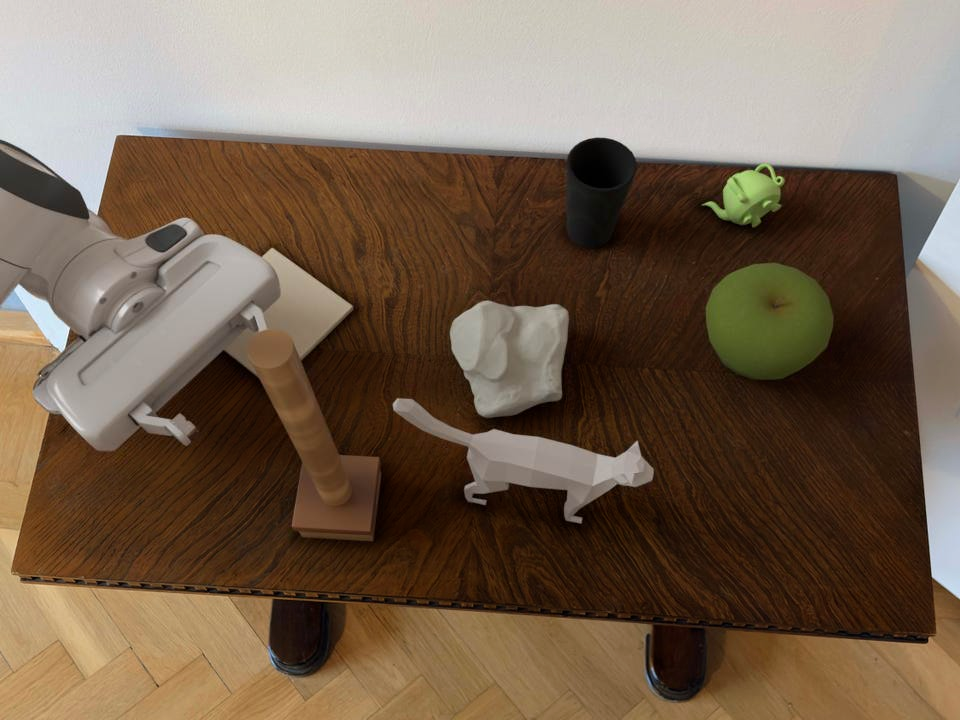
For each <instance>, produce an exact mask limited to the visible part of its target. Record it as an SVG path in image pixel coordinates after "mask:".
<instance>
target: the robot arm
mask: <svg viewBox="0 0 960 720" xmlns="http://www.w3.org/2000/svg"><path fill="white" fill-rule="evenodd" d="M18 285H19V286H20V287H21V288H22V289H24V290H25V291H26V292H27V293H28V294H29V295H31V296H32V297H35V298H37V299H38V300H41V301H43V302H46V303H47V304H48V306H49V307H50V309H51V311H52V312H53V314H54V315H55V316H56V317H57V318H58V319H59V320H60V321H61V322H62V323H63V324H65V325H66V326H67V327H68V328H69V329H71V330H72V332H74V333H75V334H76V335H78V337H77V338H76V339H74V341H72V342H71V343H70V344H69V345H67V346H66V347H65V348H64V349H63V350H62V352H61V353H59V354H58V355H57V356H56V357H55V359H53V360H52V361H51V362H48V363H47V364H45V365H44V366H43V367H42V368H41V369H40V370H39V371H38V372H37V374H36V376H38V378H37V379H36V381H35V382H34V384H33V387H32V392H31V393H32V396H33V397H32V398H33V399H34V401H35V402H36V403H37V404H38V405H39V406H40V407H42V408H43V410H44V411H46V412H47V413H49V414H51V415H58V416H63V418H64V419H65V420H66V421H67V423H68V424H69V425H71V427H72V428H73V429H74V430H75V431H76V432H77V433H78V434H79V435H80V436H81V437H82V438H83V439H84V440H85V441H86V442H87V443H88V444H89V445H90V446H91V447H92V448H93V449H95V450H96V451H98V452H115V451H116V450H117V449H118V448H120V447H121V446H122V445H123V444H124V443H126V441H127V440H128V439H130V437H131V436H132V435H134V434H135V433H136V432H137V431H138V430H139V429H140V428H142V429H143V430H144V431H146V433H148V434H153V435H160V436H170V437H172V436H173V437H174V438H175V439H177V440H178V441H179V442H180V443H181V444H183V445H184V446H185V447H188V445H190V444H191V443H192V442H193V441H194V440H195V439H196V438H197V437H198V436H200V434H201V432H200V430H199V429H198V428H197V426H195V424H193V423H192V422H191V421H190V420H188V419H187V418H186V416H184V415H183V414H182V413H180V412H179V413H178V414H176V416H174V417H173V418H172V419H170V418H164V417H159V416H158V414H156V413H158V411H159V410H160V409H161V408H163V407H164V406H165V405H166V404H167V403H168V402H169V401H170V400H172V399H173V398H174V397H175V396H176V394H178V393H179V392H180V391H181V390H182V389H184V387H186V385H187V384H189V383H190V382H191V381H192V380H193V379H194V378H195V377H196V376H197V375H198V374H200V373H201V371H202V370H204V369H205V368H206V367H207V366H208V365H209V364H210V363H212V361H213V360H215V358H217V357H218V356H219V355H220V354H221V353H222V352H224V349H225V348H226V347H227V346H228V345H229V344H230V343H232V342H233V341H234V340H235V339H236V338H237V337H238V336H239V335H240V334H241V333H242V332H243V331H244V330H246V329H247V328H249V329H251V330H252V331H253V332H257V331H258V330H259V331H260V332H261V331H263V330H267V329H269V327H268V324H267V321H266V319H265V317H264V314H263V313H264V312H265V311H266V310H267V309H268V308H269V307H270V306H271V305H272V304H274V303H275V302H276V301H277V300H278V299H279V298H280V296H281V286H280V281H279V278H278V276H277V273H276V271H275V269H274V268H273V267H272V265H271V264H270V263H269V262H267V261H266V260H265V259H263V258H262V256H261V255H260V254H257V253H256V252H254V251H253V250H251V249H249V248H248V247H246V246H245V245H243V244H241V243H239V242H237V241H235V240H234V239H232V238H230V237H227V236H225V235H221V234H215V233H213V234H210V233H209V234H205V233H204V231H203V230H202V228H201V227H200V226H199V225H198V223H197V222H195V221H194V220H193V219H191V218H189V217H181V218H178V219H176V220H174V221H171V222H169V223H167V224H165V225H163V226H160V227H158V228H156V229H154V230H152V231H149V232H147V233H144V234H141V235H138V236H136V237H133V238H130V239H127V238H125V237H122V236H119V235H117V234H115V233H114V232H113V231H112V230H111V227H110V226H109V225H108V224H107V222H106V221H105V220H104V219H103V218H101V217H100V216H99V215H98V214H96V213H95V212H94V211H92V210H91V209H89V208H88V206H87V204H86V201H85V198H84V197H83V195H82V193H81V191H80V190H79V189H78V188H76V187H75V186H73V185H72V184H71V183H70V182H68V181H67V180H65V179H64V178H63V177H61V176H60V175H59V174H58V173H56V171H54V170H53V169H52V168H51V167H49V166H48V165H47V164H45V163H44V162H42V161H41V160H39V158H37V157H35V156H34V155H32V153H29V152H28V151H26V150H25V149H23V148H21V147H19V146H17V145H15V144H13V143H10V142H8V141H6V140H3V139H0V309H1V308H2V307H3V305H4V304H5V303H6V301H7V300H8V298H9V297H10V296H11V295H12V293H13V292H14V291H15V290H16V289H17V287H18Z"/></svg>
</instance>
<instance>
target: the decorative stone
mask: <svg viewBox="0 0 960 720" xmlns="http://www.w3.org/2000/svg"><path fill="white" fill-rule="evenodd" d="M569 316H570V315H569V311H568V310H567V309H566V308H565V307H564V306H562V305H560V304H557V303H551V304H547V305H544V306H528V305H517V306H510V305H506V304H501V303H497V302H495V301H492V300H483V301H481V302H478V303H477V304H475V305H474V306H472V307H471V308H470V309H467V310H466V311H464V312H462V313H461V314H460V315H458V316H457V317H455V318H454V320H453V321H452V323H451V327H450V330H449V336H450V344H451V352H452V354H453V355H454V357H455V359H456V361H457V362H458V365H459V366H460V368H461V369H462V370H463V375H464V377H465V379H466V380H468V382H469V385H470V388H471V392H472V394H473V396H474V398H473V402H474V408H475V411H476V412H477V414H478V415H480V416H482V417H483V418H486V419H491V418H499V417H511V416H516V415H518V414H520V413H522V412H524V411H525V410H528V409H530V408H532V407H536V406H537V405H540V404H544V403H548V402H559V401H560V400H561V399H562V397H563V389H562V388H563V387H562V386H563V385H562V371H563V365H564V360H565V354H566V349H567V344H568V337H569V336H568V335H569V334H568V333H569V321H570V319H569V318H570V317H569Z"/></svg>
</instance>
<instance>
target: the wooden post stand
mask: <svg viewBox="0 0 960 720" xmlns="http://www.w3.org/2000/svg"><path fill="white" fill-rule="evenodd" d="M247 353H248V357H249V359H250V361H251V363H252V365H253V367H254V369H255V371H256V373H257V375H258V377H259V378H258V377H257V378H258V379H259V381H260V383H261V384H262V387H263V389H264V391H265V393H266V394H267V396H268V398H269V400H270V402H271V403H272V406H273V408H274V409H275V411H276V413H277V415H278V418H279V419H280V421H281V424H282V425H283V427H284V429H285V430H286V433H287V435H288V436H289V437H288V438H290V440H291V442H292V444H293V446H294V448H295V450H296V452H297V454H298V456H299V458H300V459H301V462H302V463H301V467H300V474H299V480H298V485H297V491H296V498H295V504H294V509H293V516H292V522H291V528H292V530H293V531H294V532H298V533H299V534H300V536H301V537H302V538H309V539H326V540H344V541H361V542H374V538H375V530H376V523H377V513H378V506H379V497H380V489H381V488H380V487H381V479H382V471H381V465H382V461H381V458H380V457H379V456H368V455H366V456H365V455H347V454H339V451H338V448H337V447H336V444H335V442H334V439H333V436H332V434H331V432H330V429H329V427H328V424H327V422H326V419H325V417H324V414H323V412H322V409H321V407H320V404H319V402H318V400H317V398H316V395H315V392H314V390H313V386H312V384H311V383H310V379H309V378H308V375H307V372H306V370H305V368H304V365H303V363H302V360H300V358H299V355H298V353H297V350H296V348H295V345H294V343H293V340H292V338H291V337H290V336H289V335H288V334H287V333H286V332H284V331H282V330H279V329H267V330H263V331H261V332H259V333H258V334H256V335H255V336H254V337H253V338H252V339H251V341H250V343H249V345H248V349H247Z"/></svg>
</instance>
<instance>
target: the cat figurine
mask: <svg viewBox="0 0 960 720" xmlns="http://www.w3.org/2000/svg"><path fill="white" fill-rule="evenodd" d="M392 408H393V412H395V413H396V414H397V415H399V416H400V417H401V418H403V419H404V420H406V421H407V422H408V423H410V424H411V425H413V426H415V427H416V428H418V429H419V430H421V431H423V432H424V433H427V434H430V435H432V436H434V437H437V438H440V439H441V440H445V441H448V442H452V443H454V444H458V445H461V446H463V447H464V446H465V447H467V448H468V450H467V454H466V460H467V462H468V465H469V468H470V471H471V474H472V475H473V476H472V477H473V479H474V481H473V482H471V483H468V484H466V485H464V489H463V492H464V497H465V499H466V500H467V502H468V503H474V504H479V505H483V506H486V505H487V501H488V500H486V499H481V498H474V497H473V495H474V494H481V495H484V494H485V495H486V494H491V493H497V492H502V491H503V492H504V491H507V490H510V489H509V488H510V484H514V485H520V486H524V487H529V488H538V489H550V490H561V491H567V494H566V501H565V502H564V506H563V515H564V516H563V517H564V519H565V521H566V522H571V523H577V524H583V517H581V516H576V515H575V514H577V512H578V511H579V510H580V509H581V508H583V507H585V506H586V505H588V504H590V503H592V502H593V501H594V500H596V499H598V498H599V497H601V496H602V495H604V494H605V493H607V492H609V491H610V490H611V489H613V488H614V487H615V486H617V485H620V486H628V487H633V488H637V487H639V486H642V485H645V484H648V483H651V482H652V481H653V478H654V473H655V472H654V471H655V469H654V468H653V466H652V465H650V463H648V461H647V460H645V459H646V458H644V457H643V456H642V453H641V449H640V445H639V440H636V441H635V442H634V443H633V444H632V445H631V446H630V447H629V448H628V449H627V450H626V451H625V452H622V453H621V454H619V455H617V456H616V457H614V456H610V455H609V456H608V455H605V454H600V453H596V452H593V451H591V450H588V449H584V448H581V447H579V446H575V445H573V444H568V443H564V442H561V441H557V440H553V439H549V438H546V437H545V438H544V437H541V436H532V435H525V434H523V435H522V434H513V433H511V432H506V431H503V430H499V429H496V428H492V429H491V430H489V431H486V432H480V433H474V434H471V433H470V432H466V431H463V430H461V429H458V428H455V427H452V426H450V425H449V424H447V423H445V422H443V421H441V420H439V419H437V418H435V417H434V416H432V415H431V413H429V412H428V411H427V410H426V408H424V407H422V405H420V404H419V403H418V402H416V401H415V400H414V399H413V398H401V397H400V398H398V397H397V398H396V399H395V401H393V403H392Z"/></svg>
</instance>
